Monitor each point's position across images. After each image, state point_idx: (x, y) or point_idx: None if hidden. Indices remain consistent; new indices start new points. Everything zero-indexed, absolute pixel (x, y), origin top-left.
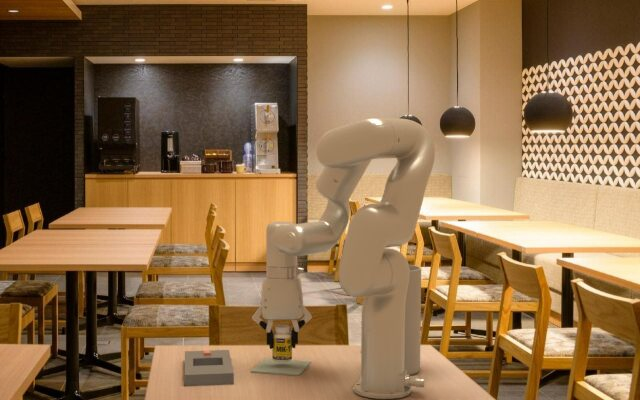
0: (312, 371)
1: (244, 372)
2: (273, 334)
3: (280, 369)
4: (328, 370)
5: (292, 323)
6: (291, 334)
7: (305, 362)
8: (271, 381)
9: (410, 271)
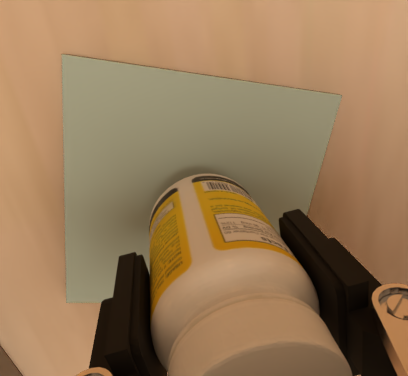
0: (330, 233)
1: (38, 299)
2: (164, 363)
3: None
4: (395, 209)
5: (397, 373)
6: (319, 309)
7: (310, 121)
8: None
9: None
